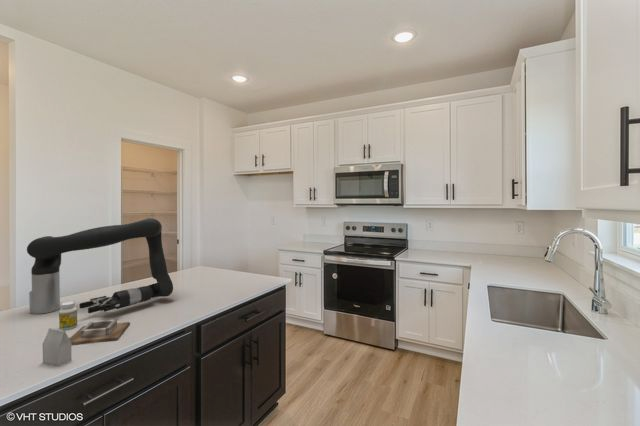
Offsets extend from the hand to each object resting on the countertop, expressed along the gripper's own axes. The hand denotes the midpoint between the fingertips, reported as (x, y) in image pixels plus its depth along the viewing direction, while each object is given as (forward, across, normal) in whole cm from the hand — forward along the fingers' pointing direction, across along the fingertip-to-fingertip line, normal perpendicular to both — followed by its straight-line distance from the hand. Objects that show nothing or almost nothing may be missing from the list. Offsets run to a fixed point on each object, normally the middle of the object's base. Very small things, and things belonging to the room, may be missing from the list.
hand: (84, 308), depth 121 cm
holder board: (+1, +17, +6) cm, 18 cm away
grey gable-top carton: (+16, +27, +6) cm, 32 cm away
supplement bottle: (+5, 0, +6) cm, 8 cm away
